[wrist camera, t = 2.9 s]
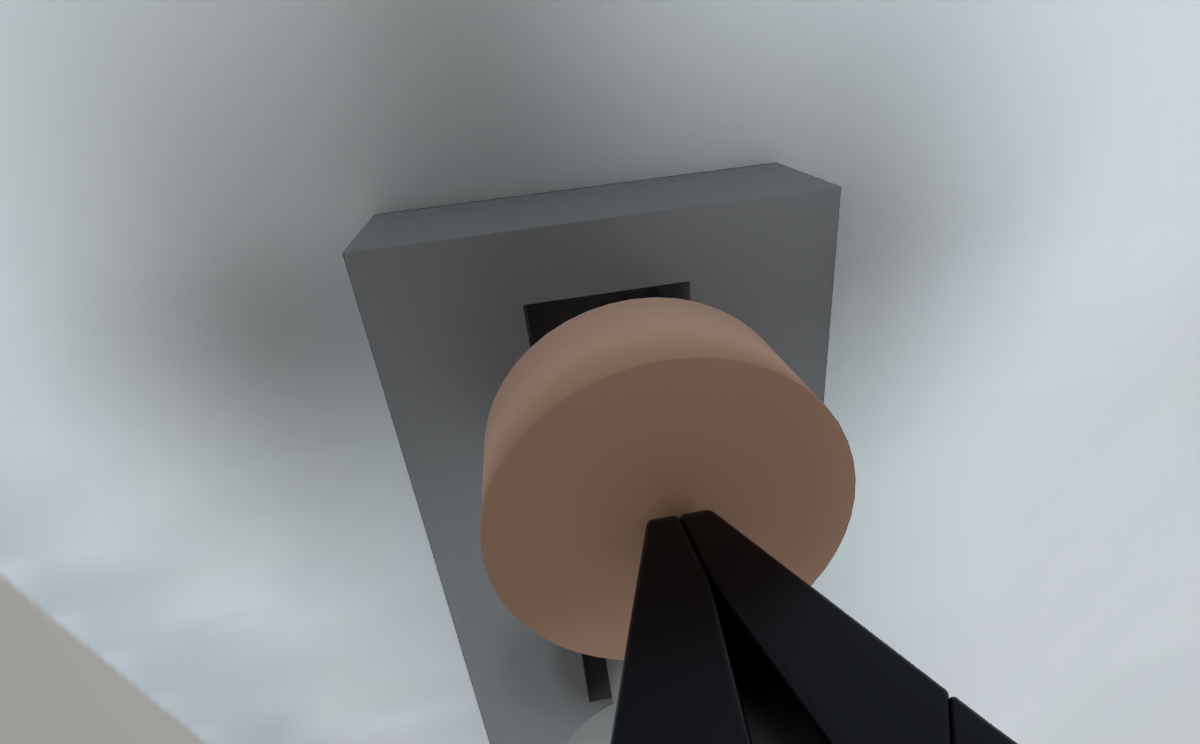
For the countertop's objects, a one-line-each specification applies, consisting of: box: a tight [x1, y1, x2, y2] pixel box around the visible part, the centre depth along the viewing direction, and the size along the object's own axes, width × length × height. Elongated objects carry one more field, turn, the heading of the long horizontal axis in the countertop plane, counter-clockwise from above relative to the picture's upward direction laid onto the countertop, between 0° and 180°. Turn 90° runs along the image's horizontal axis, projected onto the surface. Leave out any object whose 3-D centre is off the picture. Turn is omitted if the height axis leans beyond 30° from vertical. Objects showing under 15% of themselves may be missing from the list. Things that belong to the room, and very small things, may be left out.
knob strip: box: [342, 163, 841, 744], centre depth 18 cm, size 23×9×3 cm, turn 6°
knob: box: [480, 297, 855, 660], centre depth 10 cm, size 5×5×5 cm
